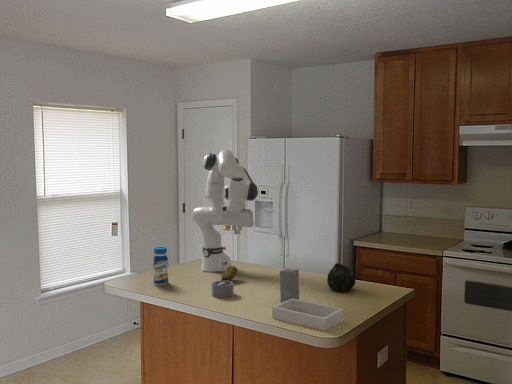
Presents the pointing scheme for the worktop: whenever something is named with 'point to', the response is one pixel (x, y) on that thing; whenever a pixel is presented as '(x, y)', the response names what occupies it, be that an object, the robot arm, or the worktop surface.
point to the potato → (229, 273)
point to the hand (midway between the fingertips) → (237, 234)
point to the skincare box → (289, 284)
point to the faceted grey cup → (222, 289)
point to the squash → (341, 278)
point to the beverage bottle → (160, 266)
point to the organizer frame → (286, 314)
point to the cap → (222, 283)
